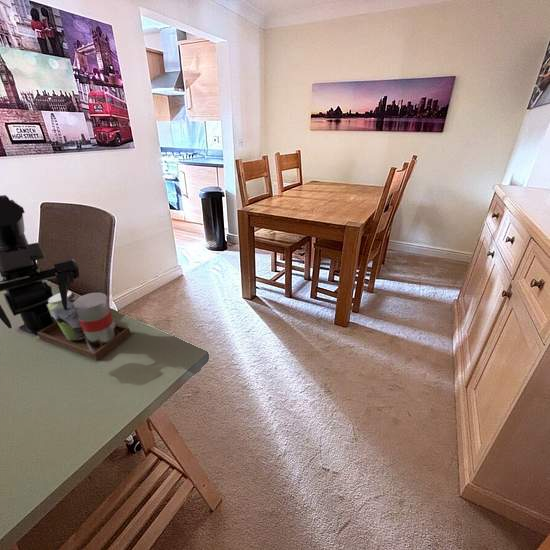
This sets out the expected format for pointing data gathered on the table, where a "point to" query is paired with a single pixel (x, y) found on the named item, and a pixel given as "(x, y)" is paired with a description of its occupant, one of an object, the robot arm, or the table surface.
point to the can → (95, 319)
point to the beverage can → (66, 316)
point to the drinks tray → (81, 341)
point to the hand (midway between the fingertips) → (39, 318)
